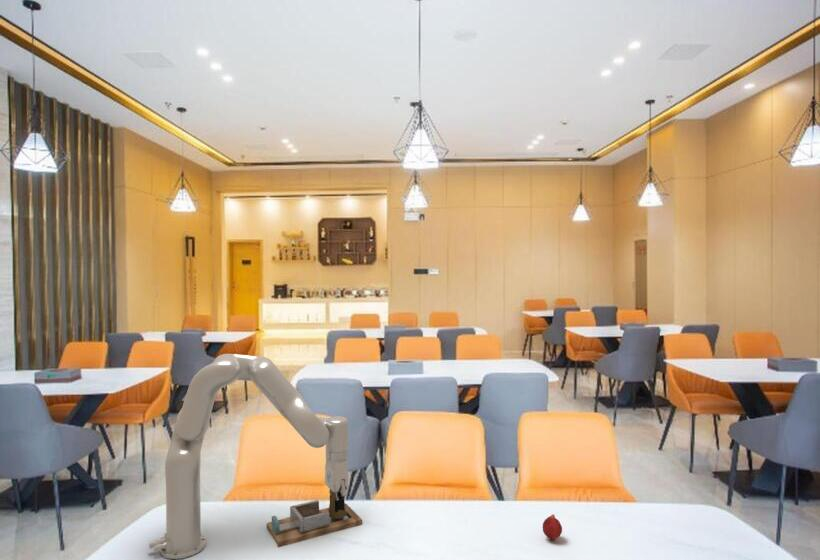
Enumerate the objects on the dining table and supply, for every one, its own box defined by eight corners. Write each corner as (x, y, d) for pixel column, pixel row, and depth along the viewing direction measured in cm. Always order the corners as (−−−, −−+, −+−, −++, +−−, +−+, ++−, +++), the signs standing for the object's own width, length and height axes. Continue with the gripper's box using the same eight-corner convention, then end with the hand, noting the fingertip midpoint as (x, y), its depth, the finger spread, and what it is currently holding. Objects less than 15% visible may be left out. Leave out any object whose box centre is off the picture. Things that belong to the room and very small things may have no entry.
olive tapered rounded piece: (347, 510, 173) (347, 478, 173) (343, 519, 167) (343, 486, 167) (330, 509, 174) (330, 478, 174) (326, 518, 168) (326, 485, 168)
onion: (548, 546, 154) (548, 519, 154) (539, 536, 160) (539, 511, 160) (565, 543, 156) (565, 517, 156) (555, 534, 161) (555, 509, 161)
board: (278, 547, 154) (278, 542, 154) (266, 527, 166) (266, 522, 166) (362, 524, 168) (362, 519, 168) (345, 507, 180) (345, 503, 180)
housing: (278, 538, 155) (278, 525, 155) (269, 523, 165) (269, 511, 165) (329, 525, 164) (329, 512, 164) (317, 511, 173) (317, 499, 173)
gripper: (317, 448, 176) (317, 501, 176) (335, 464, 161) (335, 521, 162) (338, 445, 180) (338, 496, 180) (357, 460, 165) (357, 515, 165)
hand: (336, 507), depth 171 cm, fingers closed on olive tapered rounded piece, 3 cm apart
